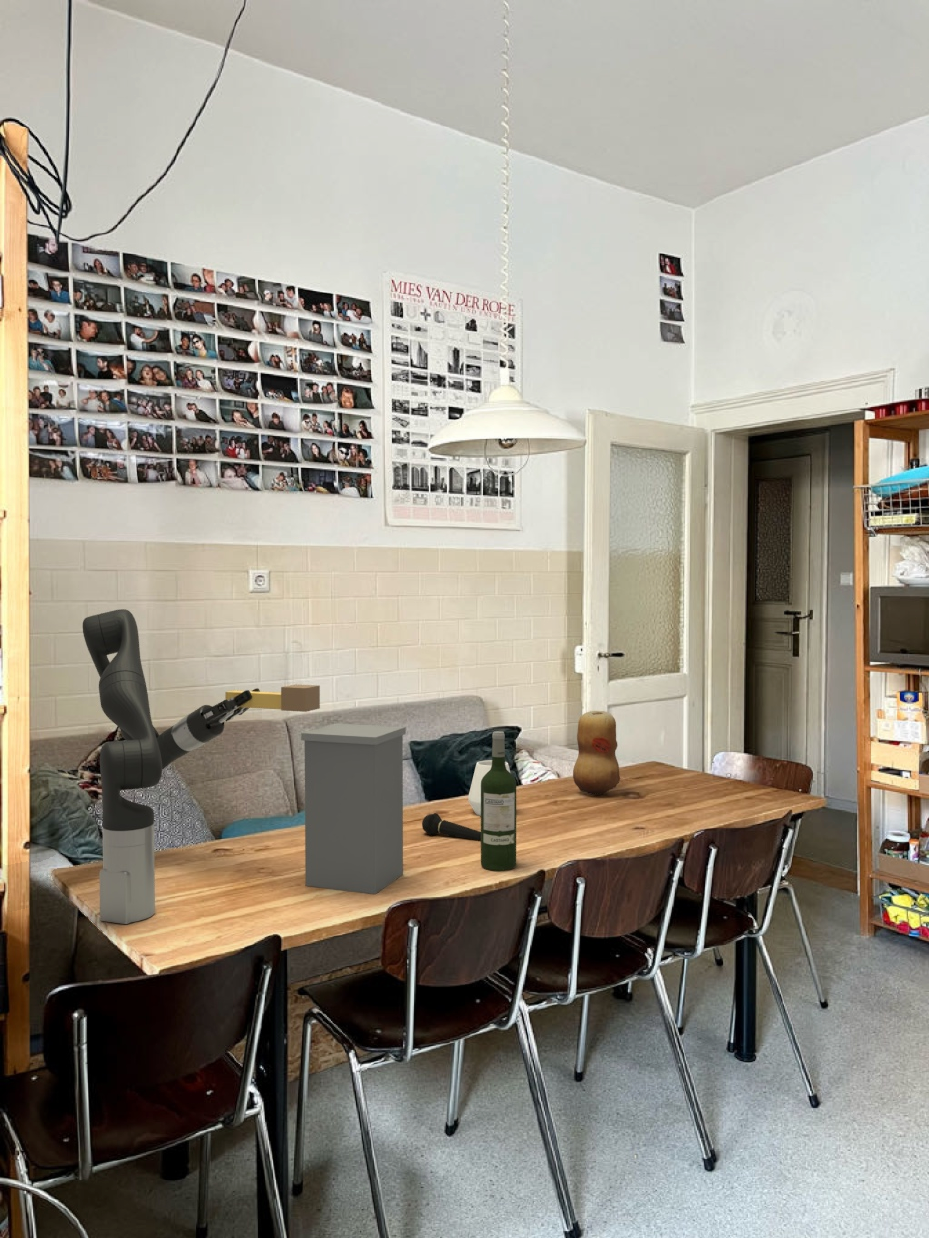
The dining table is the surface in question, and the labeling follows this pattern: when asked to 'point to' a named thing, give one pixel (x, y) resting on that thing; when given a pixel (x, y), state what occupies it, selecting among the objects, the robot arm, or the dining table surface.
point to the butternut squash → (596, 753)
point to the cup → (479, 784)
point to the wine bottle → (498, 812)
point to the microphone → (448, 828)
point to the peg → (284, 698)
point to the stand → (353, 807)
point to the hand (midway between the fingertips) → (254, 693)
